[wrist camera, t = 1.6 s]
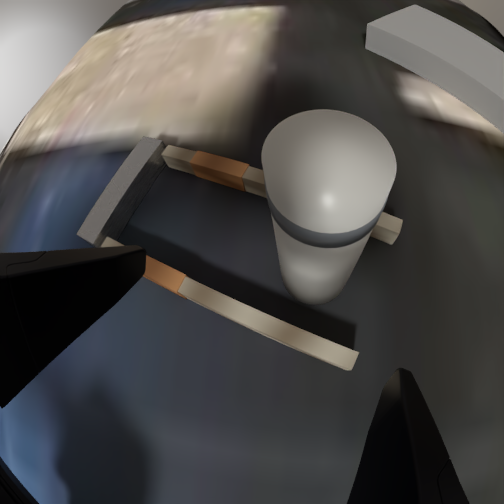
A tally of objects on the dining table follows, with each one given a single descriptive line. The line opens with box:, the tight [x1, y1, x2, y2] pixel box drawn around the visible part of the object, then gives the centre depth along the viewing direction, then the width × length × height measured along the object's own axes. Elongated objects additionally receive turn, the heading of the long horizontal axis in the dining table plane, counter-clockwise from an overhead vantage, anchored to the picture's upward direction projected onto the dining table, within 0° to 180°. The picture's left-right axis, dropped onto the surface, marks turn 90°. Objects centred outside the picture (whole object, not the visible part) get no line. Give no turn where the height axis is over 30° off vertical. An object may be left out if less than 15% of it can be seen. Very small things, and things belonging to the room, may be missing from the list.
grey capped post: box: [261, 109, 396, 305], centre depth 16 cm, size 5×5×13 cm
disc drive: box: [365, 5, 504, 133], centre depth 28 cm, size 18×22×5 cm
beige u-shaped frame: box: [77, 136, 403, 370], centre depth 23 cm, size 24×11×2 cm, turn 64°
